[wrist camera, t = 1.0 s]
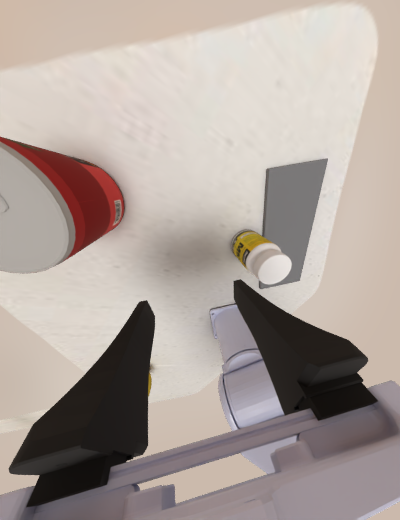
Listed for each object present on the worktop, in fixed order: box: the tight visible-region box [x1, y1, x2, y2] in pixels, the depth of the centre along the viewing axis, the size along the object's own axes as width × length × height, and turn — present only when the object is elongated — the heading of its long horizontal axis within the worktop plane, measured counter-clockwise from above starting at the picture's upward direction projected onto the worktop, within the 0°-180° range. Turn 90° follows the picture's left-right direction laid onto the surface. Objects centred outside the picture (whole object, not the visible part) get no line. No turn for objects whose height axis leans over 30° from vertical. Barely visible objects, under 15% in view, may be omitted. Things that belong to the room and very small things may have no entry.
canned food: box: [0, 137, 124, 274], centre depth 13 cm, size 8×8×11 cm
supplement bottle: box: [231, 230, 292, 285], centre depth 19 cm, size 5×5×8 cm
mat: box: [259, 159, 328, 289], centre depth 23 cm, size 20×8×1 cm, turn 9°
